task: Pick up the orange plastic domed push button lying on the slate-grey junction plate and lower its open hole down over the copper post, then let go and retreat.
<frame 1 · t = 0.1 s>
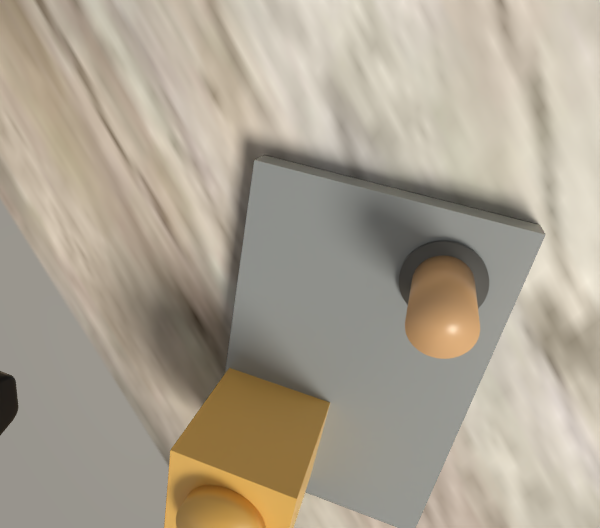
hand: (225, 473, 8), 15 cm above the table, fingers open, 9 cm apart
junction plate: (348, 356, 24), on the table
domed push button: (270, 424, 26), point 1 cm above the table, touching junction plate
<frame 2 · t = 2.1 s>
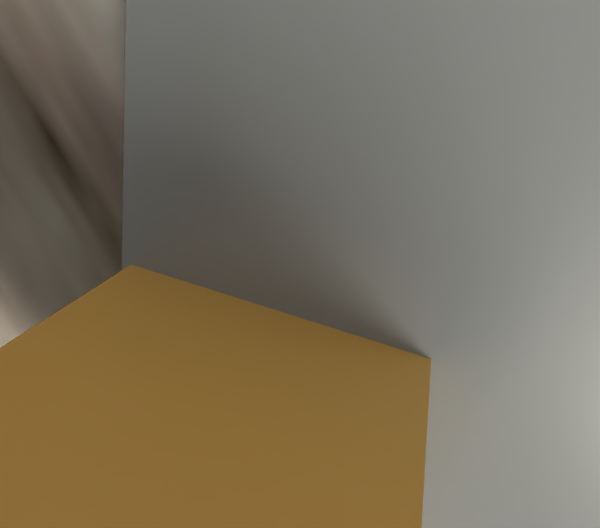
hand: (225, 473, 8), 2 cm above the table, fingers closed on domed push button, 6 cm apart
junction plate: (485, 216, 8), on the table
domed push button: (250, 426, 9), point 1 cm above the table, touching gripper, junction plate
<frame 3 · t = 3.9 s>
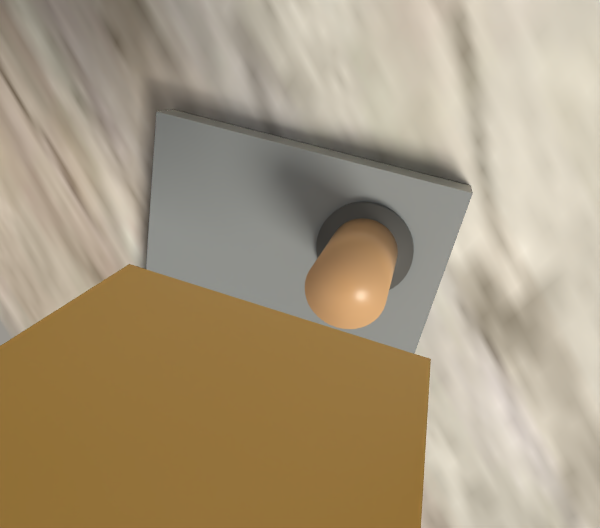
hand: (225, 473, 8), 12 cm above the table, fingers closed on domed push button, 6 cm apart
junction plate: (273, 338, 22), on the table
domed push button: (249, 426, 9), point 11 cm above the table, touching gripper
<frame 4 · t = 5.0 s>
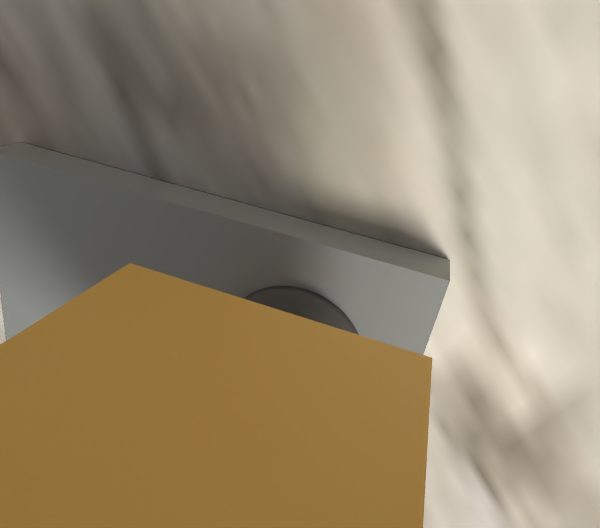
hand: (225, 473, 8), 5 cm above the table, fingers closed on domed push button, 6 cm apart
junction plate: (190, 446, 16), on the table
domed push button: (250, 426, 9), point 4 cm above the table, touching gripper
when the fingers open (4 cm above the table, at t = 5.6 s): domed push button drops 2 cm, resting on junction plate.
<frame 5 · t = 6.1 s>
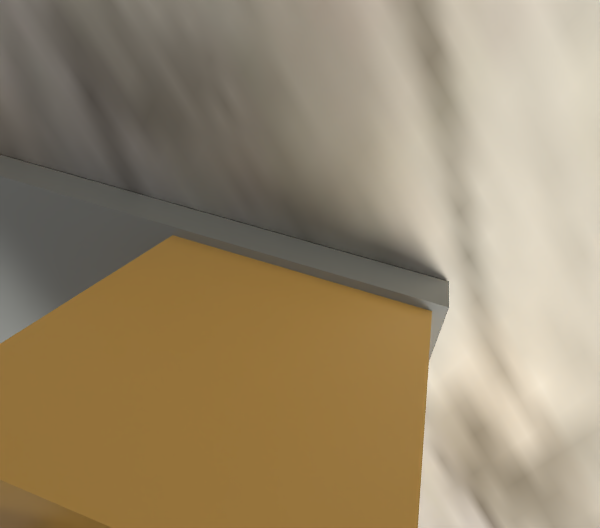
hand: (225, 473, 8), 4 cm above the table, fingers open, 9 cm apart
junction plate: (172, 473, 15), on the table
domed push button: (275, 377, 11), point 1 cm above the table, touching junction plate
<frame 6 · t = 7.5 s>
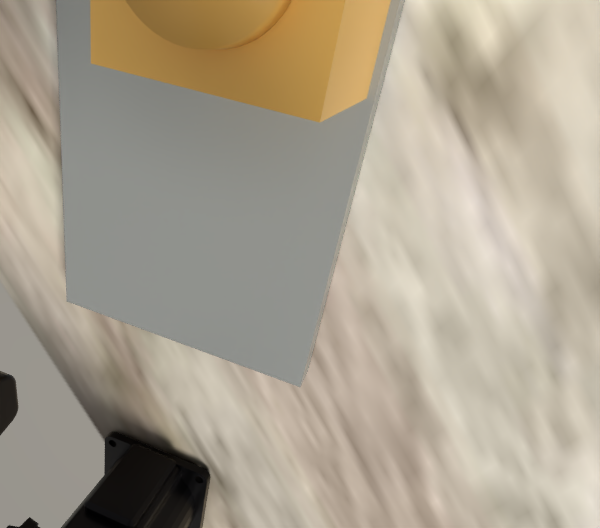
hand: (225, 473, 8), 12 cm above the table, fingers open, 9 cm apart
junction plate: (210, 145, 19), on the table
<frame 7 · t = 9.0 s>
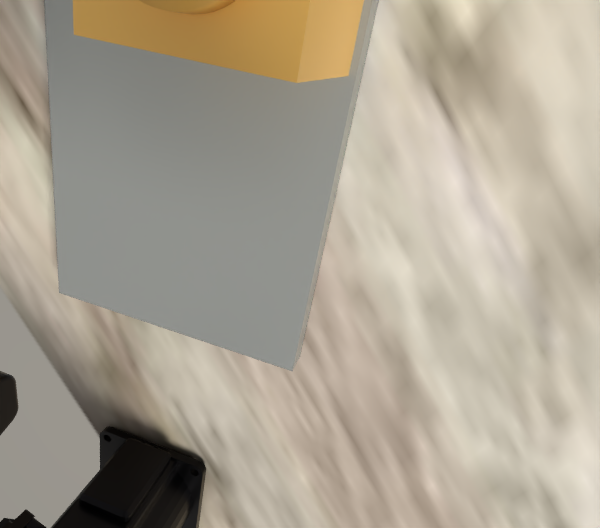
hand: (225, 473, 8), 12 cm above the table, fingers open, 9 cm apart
junction plate: (198, 130, 19), on the table
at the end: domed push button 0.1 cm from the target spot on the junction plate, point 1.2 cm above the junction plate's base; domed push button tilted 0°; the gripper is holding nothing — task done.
